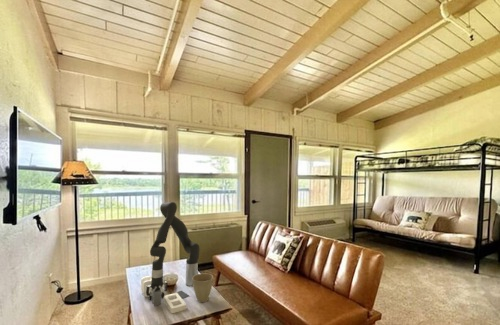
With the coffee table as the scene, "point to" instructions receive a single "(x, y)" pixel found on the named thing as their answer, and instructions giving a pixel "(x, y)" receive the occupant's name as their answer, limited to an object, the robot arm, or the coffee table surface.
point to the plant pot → (202, 286)
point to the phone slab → (182, 294)
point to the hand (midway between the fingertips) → (156, 299)
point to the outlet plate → (174, 302)
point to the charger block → (156, 297)
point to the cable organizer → (145, 282)
